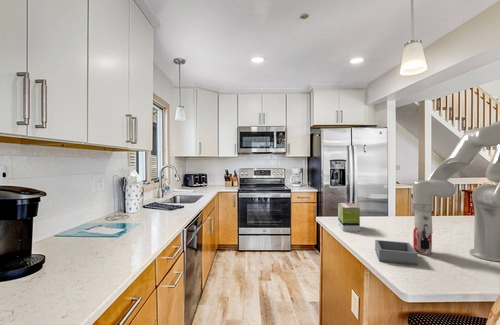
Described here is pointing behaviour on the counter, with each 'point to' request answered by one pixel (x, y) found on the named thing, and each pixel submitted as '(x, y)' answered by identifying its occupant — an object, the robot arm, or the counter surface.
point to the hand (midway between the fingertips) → (422, 245)
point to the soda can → (418, 242)
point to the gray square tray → (395, 252)
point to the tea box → (349, 217)
